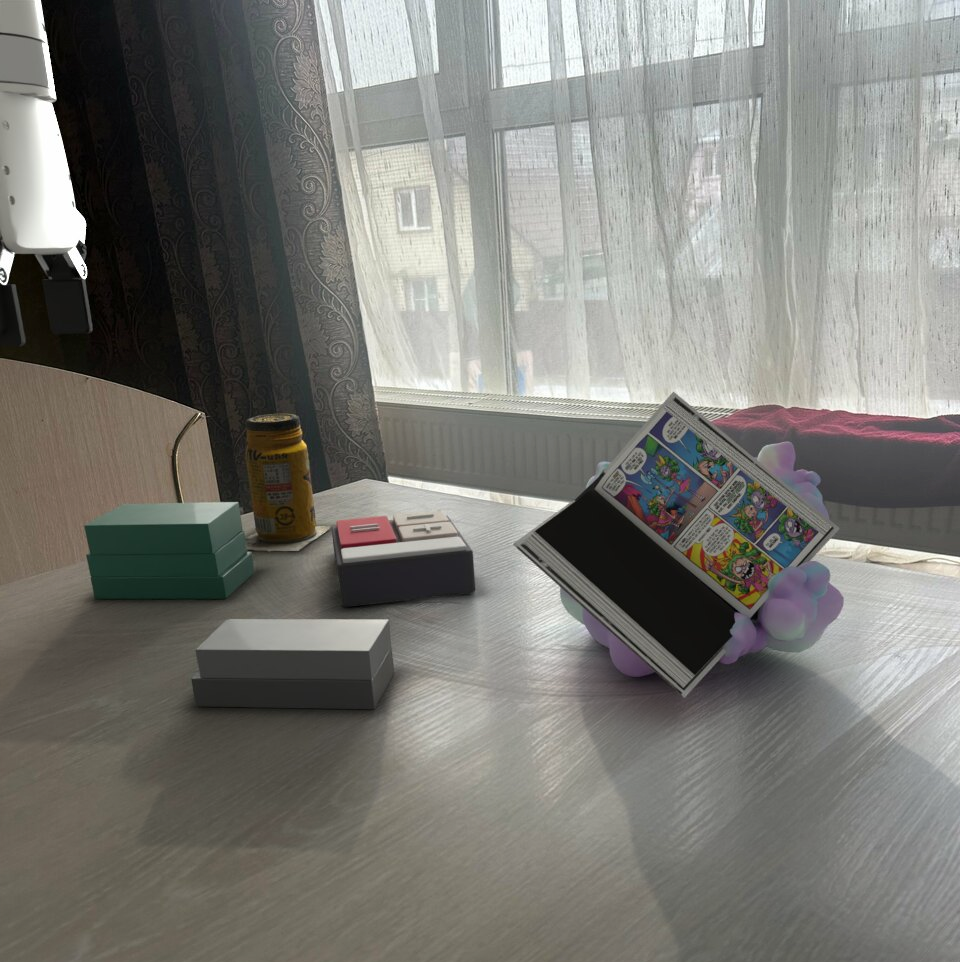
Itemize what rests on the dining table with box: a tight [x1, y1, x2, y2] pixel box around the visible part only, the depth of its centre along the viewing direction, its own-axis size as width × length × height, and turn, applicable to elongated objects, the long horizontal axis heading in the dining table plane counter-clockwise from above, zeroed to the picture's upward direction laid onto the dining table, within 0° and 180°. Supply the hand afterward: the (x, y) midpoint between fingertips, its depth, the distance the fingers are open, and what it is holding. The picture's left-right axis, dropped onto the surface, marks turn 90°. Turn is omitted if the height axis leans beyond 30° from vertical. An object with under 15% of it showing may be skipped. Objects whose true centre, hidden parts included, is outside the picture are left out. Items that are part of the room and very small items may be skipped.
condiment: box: [244, 413, 332, 553], centre depth 98 cm, size 7×8×12 cm
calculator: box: [331, 509, 476, 608], centre depth 88 cm, size 11×4×15 cm
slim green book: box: [83, 501, 244, 555], centre depth 87 cm, size 11×7×3 cm, turn 82°
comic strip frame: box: [512, 391, 845, 699], centre depth 67 cm, size 20×22×18 cm
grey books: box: [190, 618, 395, 710], centre depth 66 cm, size 12×6×4 cm, turn 82°
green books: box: [85, 530, 256, 600], centre depth 88 cm, size 12×7×4 cm, turn 82°
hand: (39, 339), depth 74 cm, fingers open, 9 cm apart
